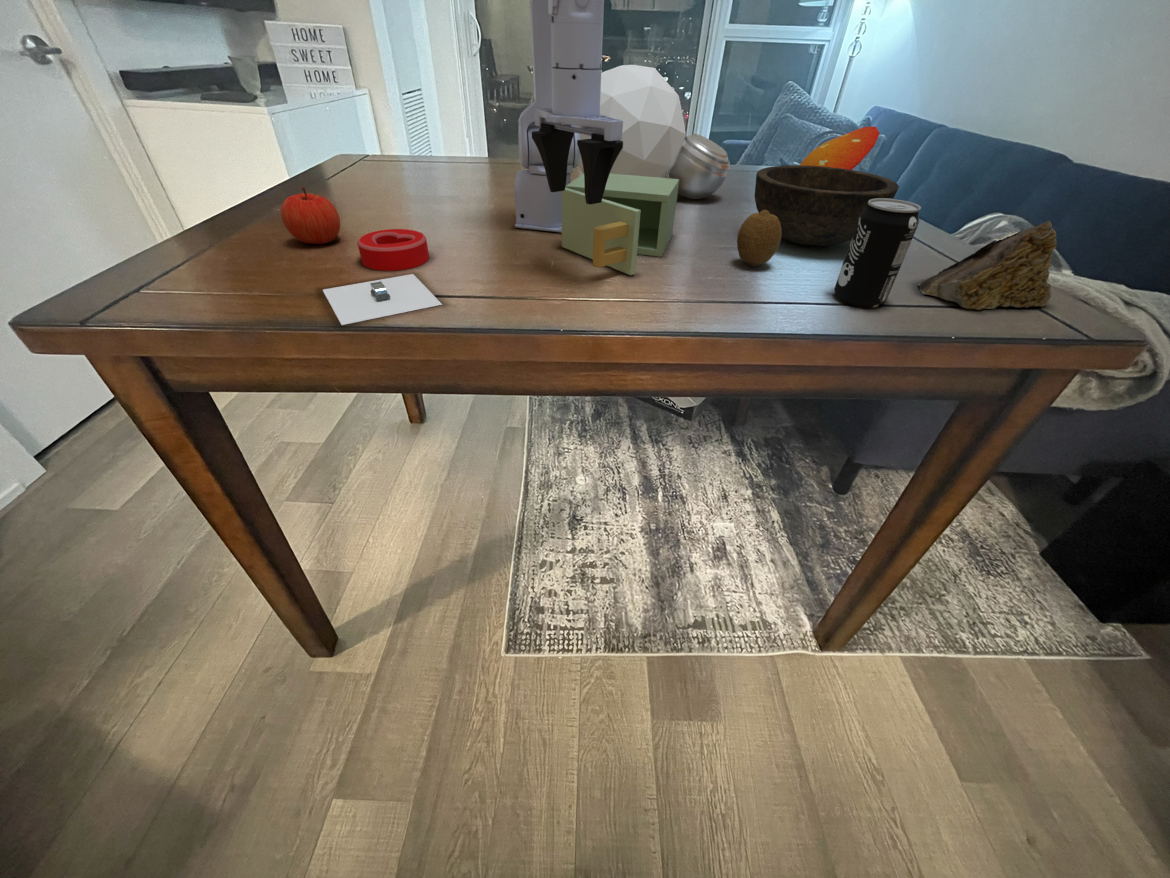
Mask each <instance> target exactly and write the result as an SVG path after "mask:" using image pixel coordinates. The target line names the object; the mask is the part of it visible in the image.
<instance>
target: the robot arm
mask: <svg viewBox="0 0 1170 878" xmlns="http://www.w3.org/2000/svg"><path fill="white" fill-rule="evenodd" d="M604 10H605V0H529V18H530V37H531V39H530V40H531V41H530V42H531V61H532V77H533V78H532V80H533V83H532V84H533V101H532V102H531V103H530V104H529V105H528V106H527V107H525V108H524V110H522V112H521V113H520V115H519V118H518V120H517V121H518V135H517V136H518V137H517V138H518V141H517V142H518V156H519V163H520V166H521V167H522V169H519V170H518V171H517V172H516V174H515V178H514V186H513V187H514V188H513V189H514V194H513V195H514V207H515V208H514V211H515V224H514V228H516V229H525V230H534V231H543V232H552V233H561V234H562V191H565V188H566V185H568V184H569V183H571V174H573V172H574V169H576V168H577V167H578V164H579V161H580V154H581V158H582V163H583V170H584V185H585V199H586V204H589V205H591V204H596V203H601V202H602V198H603V194H604V190H605V187H606V183H607V180H608V177H609V174H610V171H611V169H612V167H613V164H614V162H615V160H616V158H617V157H618V155H619V153H620V151H621V150H622V148H623V141H620V140H622V130H623V120H618V119H614V118H611V117H608V116H605V115H602V114H600V94H601V73H602V69H603V67H602V66H603V65H602V63H603V41H604V40H603V39H604V16H605V15H604V12H605V11H604ZM531 124H534V125H531ZM579 126H581V128H579ZM588 129H590V130H588ZM580 134H584V135H589V136H591V139H582V140H580Z"/></svg>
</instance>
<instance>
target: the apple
mask: <svg viewBox="0 0 1170 878" xmlns="http://www.w3.org/2000/svg"><path fill="white" fill-rule="evenodd" d="M301 191H303V192H300V193H297V194H292V195H290V196H288V197H286V199H285V200H284V201H283V202H282V205H281V207H280V208H281V209H280V216H281V220H282V223H283V225H284V227H285V228H286V230H287V231H288V232H289V234H290V235H291V236H293V237H294V238H295V239H296V240H298V241H300V242H302V243H304V244H308V245H324V244H329V243H331V242H333V241H334V240H335V239H336V238H337V236H338V235H339V233H340V230H341V218H340V214H339V212H338V210H337V208H336V206H335V205H334V204H333V202H332V201H331V200H329V199H328V198H326V197H324V196H322V195H319V194H315V193H307V192H306V188H305V186H304V187H301Z"/></svg>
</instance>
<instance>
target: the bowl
mask: <svg viewBox="0 0 1170 878" xmlns="http://www.w3.org/2000/svg"><path fill="white" fill-rule="evenodd" d="M899 188H900V186H899V184H898V183H897V182H896V181H894V180H893V179H890V178H887V177H884V176H880V175H878V174H873V173H869V172H864V171H859V170H854V169H852V170H848V169H841V168H832V167H821V166H804V165H800V164H798V165H797V164H795V165H794V164H793V165H774V166H768V167H764V168H761V169H759V170H758V171H756V175H755V185H754V196H753V197H754V202H755V207H756V211H757V213H760V212H761V211H763V210H767V211H769V212H770V214H772V215H775V216H776V217H778V219H779V222H780V224H781V229H782V236H781V239H783V240H785V241H788V242H791V243H795V244H799V245H804V246H812V247H829V246H836V245H838V244H842V243H845V242H850V241H851V239H852V236H853V233H854V230H855V228H856V225H857V222H858V219H859V216H860V213H861V212H862V211H863V210H864V209H865V208H866V207H867V206H868V201H869V200H871V199H876V198H887V199H895V196H896V194H897V192H898V191H899Z"/></svg>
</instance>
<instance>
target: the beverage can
mask: <svg viewBox="0 0 1170 878" xmlns="http://www.w3.org/2000/svg"><path fill="white" fill-rule="evenodd" d="M921 209H922V207H921V205H919V204H917V203H915V202H911V201H908V200H902V199H895V198H893V199H887V198H876V199H871V200H869V201H868V206H867V207H866V208H865V209H864V210H863V211H862V212H861V213H860V216H859V219H858V222H857V225H856V228H855V230H854V233H853V236H852V239H851V240H850V241H849V245H848V247H847V251H846V254H845V256H844V259H843V262H842V265H841V267H840V271H839V274H838V277H837V280H836V282H835V285H834V290H833V291H834V293H835V295H836V298H837V299H838V300H839V301H841V302H843V303H844V304H846V305H850V306H853V307H857V308H866V309H867V308H869V309H870V308H876V307H879V306H880V305H882V304H883V303H885V302H886V301H887V300H888V298H889V296H890V293H891V291H892V289H893V286H894V284H895V281H896V279H897V277H898V274H899V272H900V269H901V267H902V265H903V262H904V260H905V258H906V255H907V252H908V250H909V248H910V245H911V243H912V242H913V238H914V236H915V234H916V231H917V229H918V227H919V224H920V216H919V212H920V211H921Z"/></svg>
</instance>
